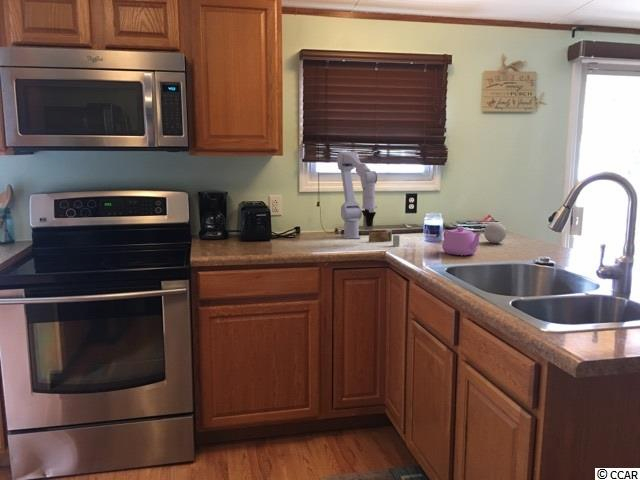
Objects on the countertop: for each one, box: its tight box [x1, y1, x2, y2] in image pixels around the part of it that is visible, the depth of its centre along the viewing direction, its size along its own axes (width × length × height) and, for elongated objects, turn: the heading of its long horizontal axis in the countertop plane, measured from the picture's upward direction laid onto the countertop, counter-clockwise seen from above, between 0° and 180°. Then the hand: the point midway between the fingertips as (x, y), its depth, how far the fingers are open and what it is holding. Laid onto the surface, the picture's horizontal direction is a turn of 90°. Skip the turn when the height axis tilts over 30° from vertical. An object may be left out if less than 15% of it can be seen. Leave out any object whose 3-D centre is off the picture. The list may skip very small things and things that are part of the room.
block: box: [362, 215, 374, 231], centre depth 243 cm, size 4×4×6 cm
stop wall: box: [392, 234, 400, 247], centre depth 239 cm, size 2×2×5 cm
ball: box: [483, 221, 507, 244], centre depth 243 cm, size 10×10×10 cm
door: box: [368, 231, 392, 243], centre depth 250 cm, size 11×1×4 cm, turn 100°
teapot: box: [442, 226, 484, 256], centre depth 219 cm, size 20×13×12 cm, turn 39°
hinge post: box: [385, 229, 393, 242], centre depth 253 cm, size 2×2×5 cm
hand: (368, 225), depth 243 cm, fingers closed on block, 4 cm apart
